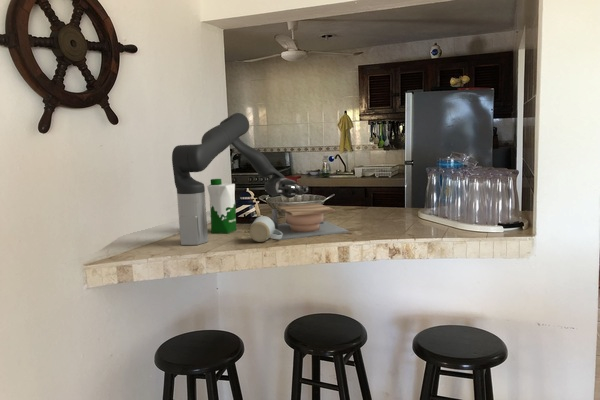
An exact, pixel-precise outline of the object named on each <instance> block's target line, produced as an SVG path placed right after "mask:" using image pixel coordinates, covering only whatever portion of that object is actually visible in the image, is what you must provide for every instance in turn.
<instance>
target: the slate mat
mask: <svg viewBox="0 0 600 400" xmlns="http://www.w3.org/2000/svg"><path fill="white" fill-rule="evenodd" d="M319 225H320V229H319V230H317V231H312V232H293V231H291V230H290V224H288V223H286V222H285V223H278V228H277V229H276V230H278V231H280V232H282V234H283V235H282V238H281V239H278V241H283V240H291V239H292V240H293V239H300V238H309V237H311V238H312V237H317V236H319V237H320V236H327V235H337V234H345V233H346V234H347V233H349V231H350V230H348V229H346V228H343V227H342V226H338V225H336V224H334V223H332V222H329V221H327V220H324V219H323V224H319ZM273 234H274V233H273ZM275 235H277V234H275Z"/></svg>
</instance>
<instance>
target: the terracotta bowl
mask: <svg viewBox="0 0 600 400" xmlns="http://www.w3.org/2000/svg"><path fill="white" fill-rule="evenodd" d="M284 214H285V223H288V224H290V230H291V231H293V232H312V231H317V230H319V229H320V225H319V223H321V222H323V220H324V213H316V214H305V215H294V216H292V215H290V214H288V213H286V212H284Z"/></svg>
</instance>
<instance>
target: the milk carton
mask: <svg viewBox="0 0 600 400" xmlns="http://www.w3.org/2000/svg"><path fill="white" fill-rule="evenodd" d="M206 187H207V193H208V195H209V209H210V232H211V234H230V233H233V232H235V231H237V215H236V199H235V191H236V184H235V183H222V178H212V179H210V184H209V185H207V186H206Z"/></svg>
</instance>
